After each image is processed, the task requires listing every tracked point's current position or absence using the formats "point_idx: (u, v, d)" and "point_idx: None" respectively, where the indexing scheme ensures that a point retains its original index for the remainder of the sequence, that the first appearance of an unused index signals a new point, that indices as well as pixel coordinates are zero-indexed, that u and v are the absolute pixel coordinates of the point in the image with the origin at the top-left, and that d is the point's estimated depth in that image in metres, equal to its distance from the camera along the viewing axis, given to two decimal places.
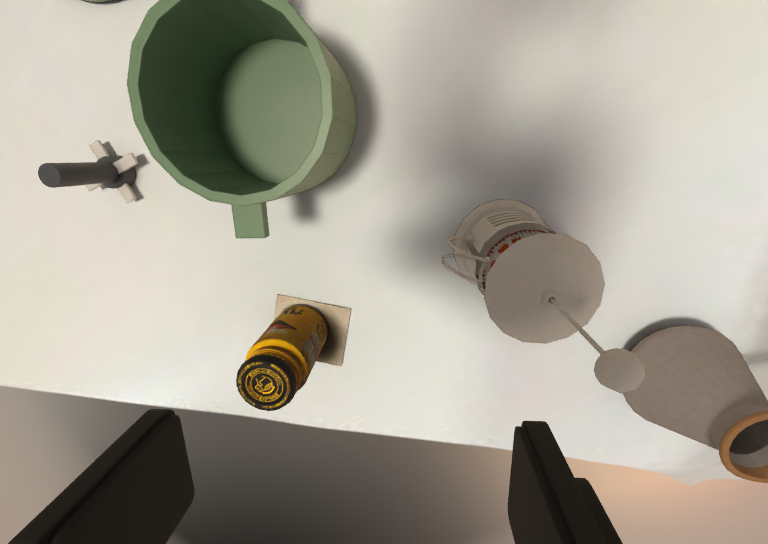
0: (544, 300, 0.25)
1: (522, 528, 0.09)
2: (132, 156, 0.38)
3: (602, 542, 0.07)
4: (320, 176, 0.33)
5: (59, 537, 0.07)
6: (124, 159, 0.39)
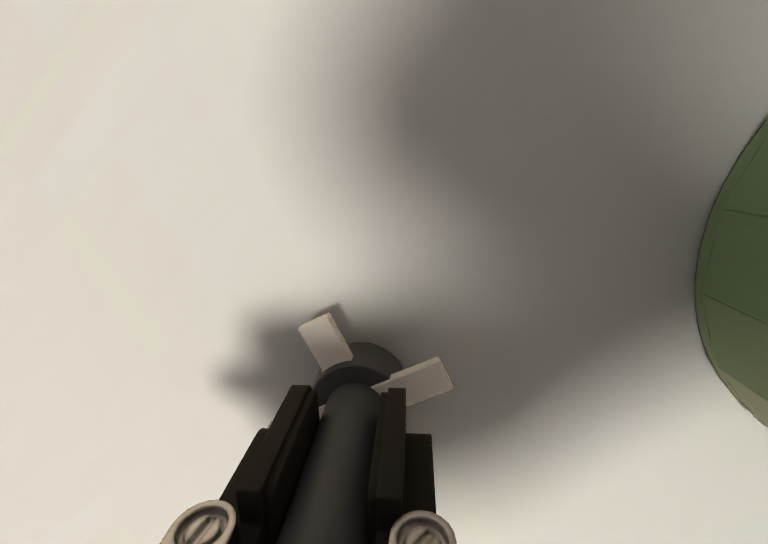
0: None
1: None
2: (442, 370, 0.12)
3: (399, 473, 0.08)
4: None
5: (271, 487, 0.08)
6: (415, 379, 0.12)
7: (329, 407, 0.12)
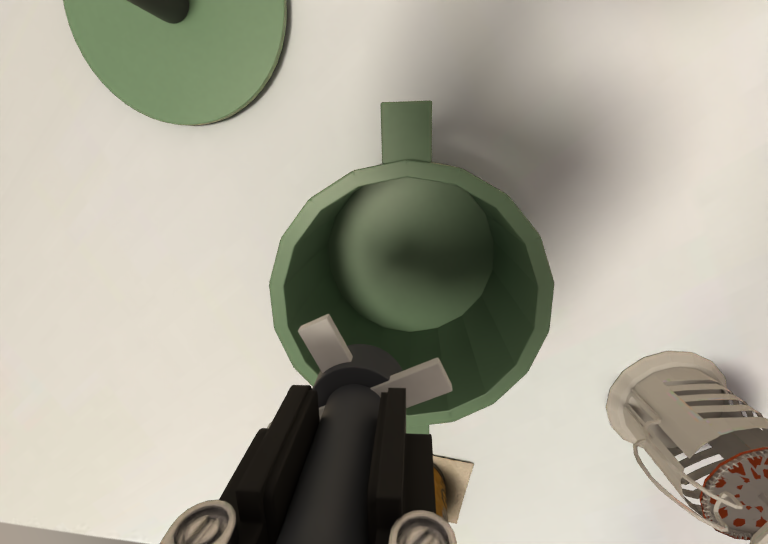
0: None
1: None
2: (442, 371, 0.12)
3: (399, 473, 0.08)
4: None
5: (271, 487, 0.08)
6: (415, 380, 0.12)
7: (329, 408, 0.12)
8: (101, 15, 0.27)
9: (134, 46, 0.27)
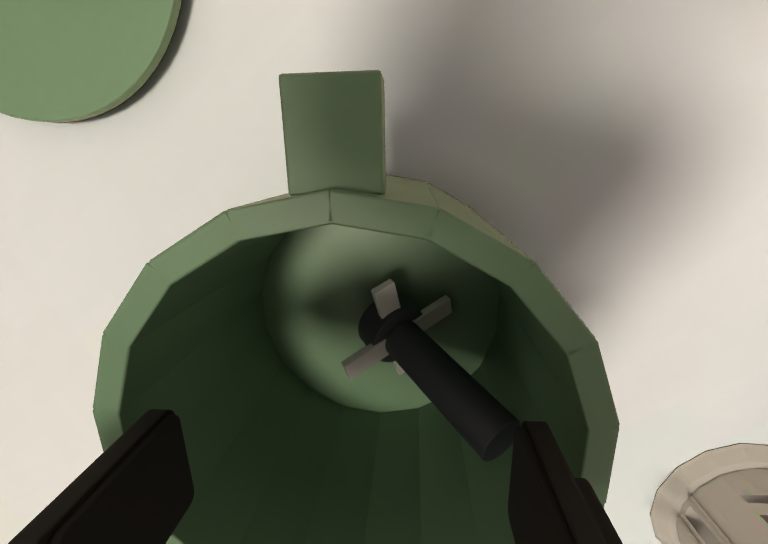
0: None
1: (522, 528, 0.09)
2: (449, 302, 0.20)
3: (602, 542, 0.07)
4: None
5: (59, 537, 0.07)
6: (437, 310, 0.20)
7: (405, 339, 0.18)
8: None
9: None
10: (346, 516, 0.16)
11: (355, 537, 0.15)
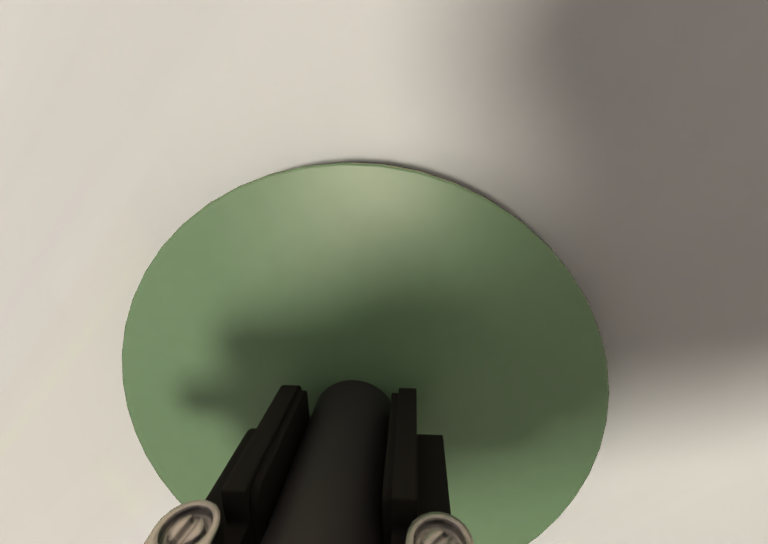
0: None
1: None
2: None
3: (413, 474, 0.08)
4: None
5: (257, 487, 0.08)
6: None
7: None
8: (203, 423, 0.13)
9: None
10: None
11: None
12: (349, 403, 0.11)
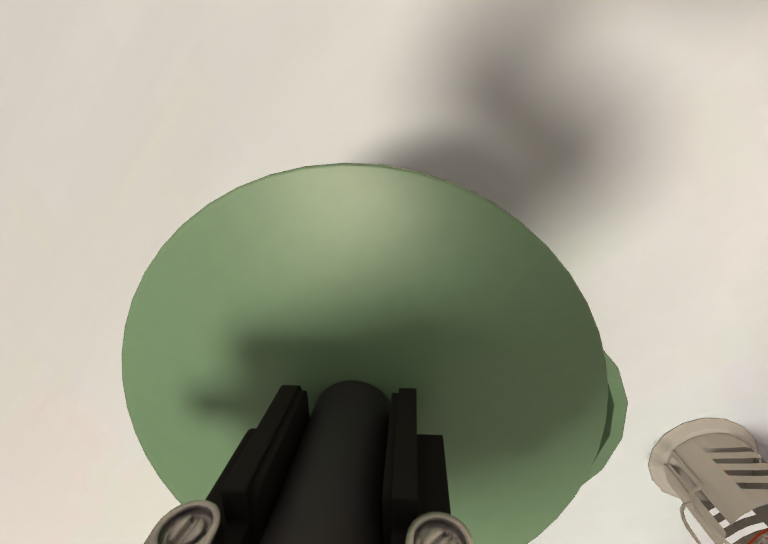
0: None
1: None
2: None
3: (413, 474, 0.08)
4: None
5: (256, 487, 0.08)
6: None
7: None
8: (203, 423, 0.13)
9: None
10: None
11: None
12: (348, 403, 0.11)
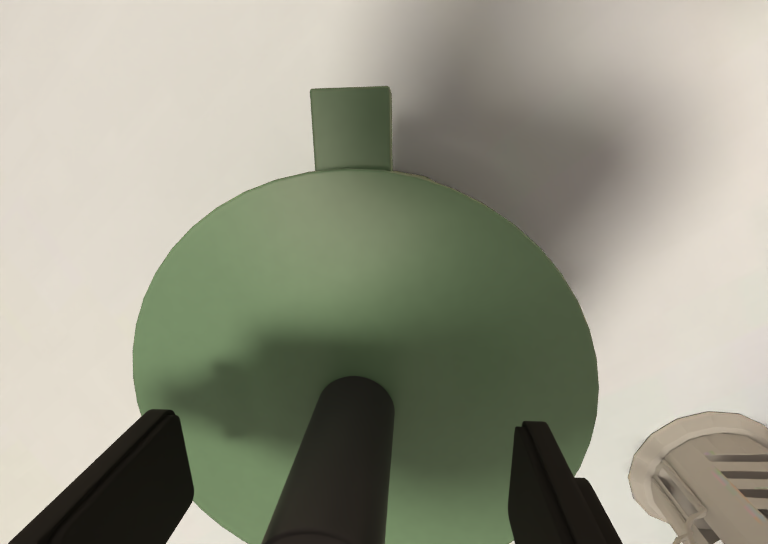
0: None
1: (522, 528, 0.09)
2: None
3: (602, 542, 0.07)
4: None
5: (59, 537, 0.07)
6: None
7: None
8: (210, 418, 0.13)
9: (271, 466, 0.14)
10: None
11: None
12: (351, 397, 0.11)
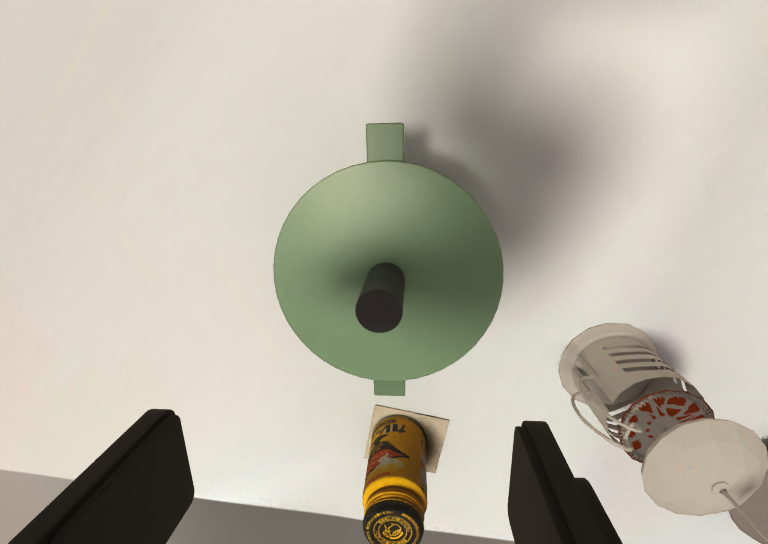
0: (714, 490, 0.25)
1: (522, 528, 0.09)
2: None
3: (602, 542, 0.07)
4: None
5: (59, 537, 0.07)
6: None
7: None
8: (311, 287, 0.27)
9: (341, 314, 0.27)
10: None
11: None
12: (385, 267, 0.25)
